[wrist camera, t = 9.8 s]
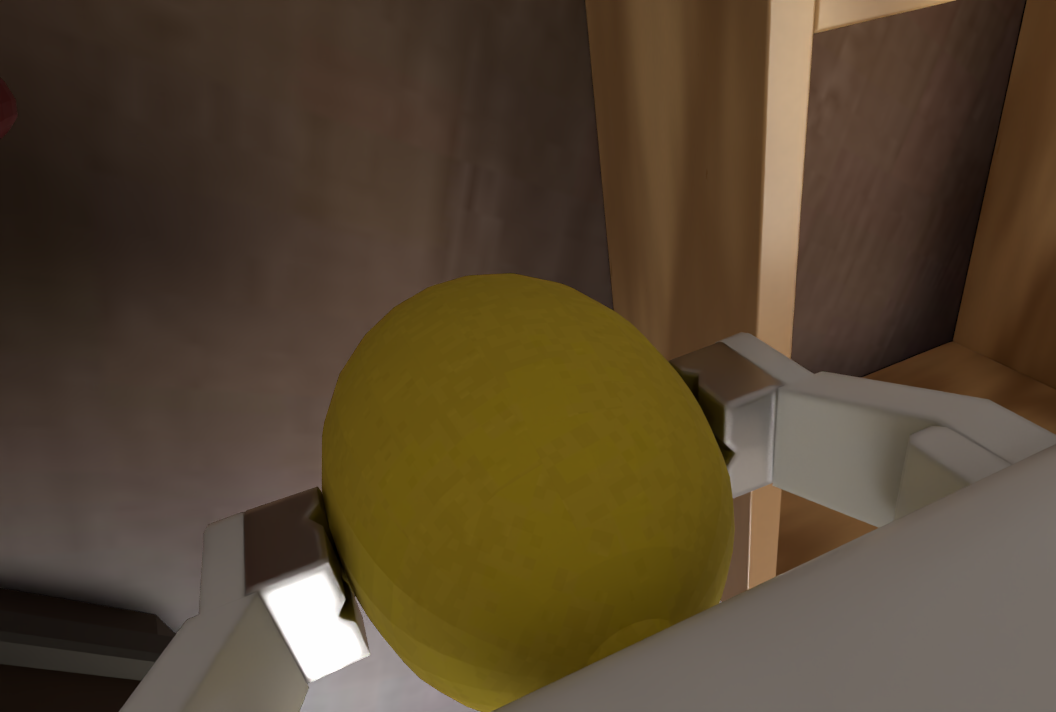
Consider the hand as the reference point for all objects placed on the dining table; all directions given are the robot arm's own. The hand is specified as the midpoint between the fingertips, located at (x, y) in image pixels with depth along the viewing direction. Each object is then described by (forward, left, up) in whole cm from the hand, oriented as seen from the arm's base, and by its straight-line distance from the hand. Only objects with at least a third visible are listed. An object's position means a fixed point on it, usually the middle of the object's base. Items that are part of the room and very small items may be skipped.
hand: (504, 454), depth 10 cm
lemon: (0, 0, -4) cm, 4 cm away
